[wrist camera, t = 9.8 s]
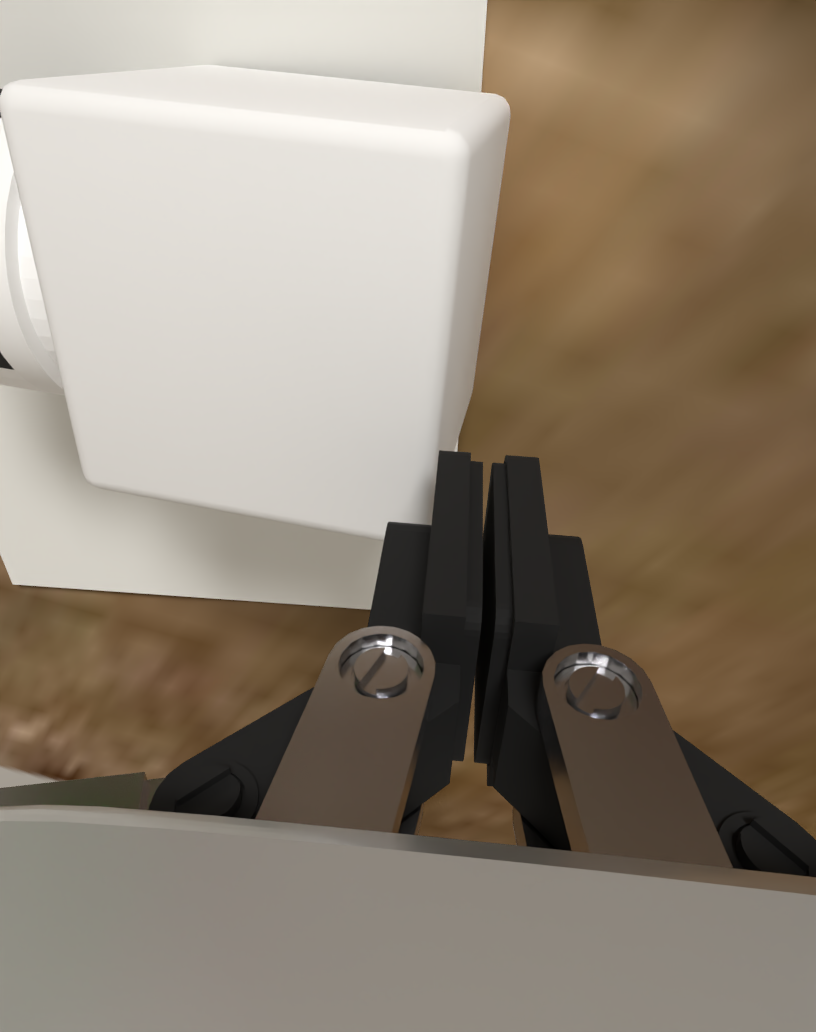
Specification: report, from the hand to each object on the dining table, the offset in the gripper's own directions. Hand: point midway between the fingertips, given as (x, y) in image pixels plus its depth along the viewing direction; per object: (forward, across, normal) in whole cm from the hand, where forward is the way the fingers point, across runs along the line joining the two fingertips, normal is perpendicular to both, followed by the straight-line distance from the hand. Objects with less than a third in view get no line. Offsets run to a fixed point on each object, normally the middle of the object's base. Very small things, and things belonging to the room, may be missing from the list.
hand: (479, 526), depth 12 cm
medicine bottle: (+4, 0, -2) cm, 5 cm away
